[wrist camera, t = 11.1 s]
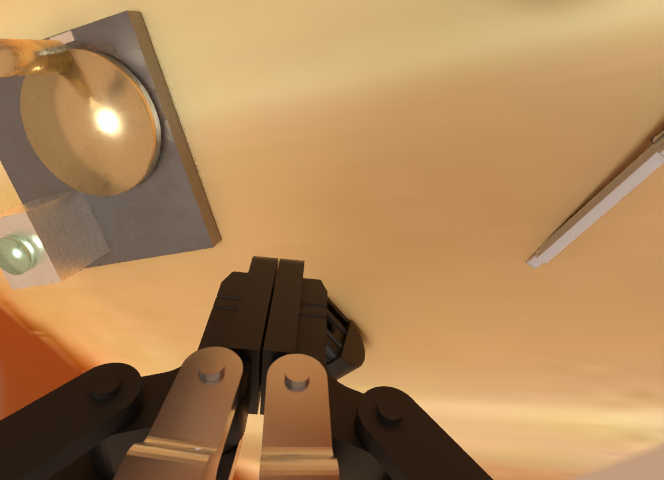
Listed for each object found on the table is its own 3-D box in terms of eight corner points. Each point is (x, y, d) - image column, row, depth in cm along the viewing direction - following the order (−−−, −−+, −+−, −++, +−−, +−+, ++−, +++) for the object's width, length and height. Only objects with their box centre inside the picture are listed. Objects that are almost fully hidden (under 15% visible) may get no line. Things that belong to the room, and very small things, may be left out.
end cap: (304, 376, 52) (288, 420, 46) (263, 334, 50) (241, 373, 44) (370, 337, 48) (362, 379, 42) (327, 290, 46) (312, 327, 40)
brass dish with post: (19, 139, 43) (-82, 161, 35) (57, 16, 38) (-52, 7, 29) (130, 216, 44) (59, 256, 36) (183, 108, 39) (114, 125, 30)
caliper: (713, 57, 32) (774, 59, 27) (725, 65, 32) (789, 69, 27) (524, 261, 41) (539, 294, 36) (534, 267, 41) (551, 301, 36)
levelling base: (-27, 69, 44) (-143, 74, 35) (140, 12, 39) (54, 1, 30) (70, 264, 52) (-5, 310, 43) (221, 239, 46) (172, 286, 37)
